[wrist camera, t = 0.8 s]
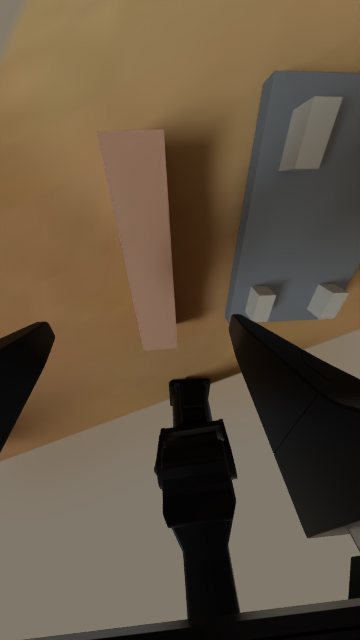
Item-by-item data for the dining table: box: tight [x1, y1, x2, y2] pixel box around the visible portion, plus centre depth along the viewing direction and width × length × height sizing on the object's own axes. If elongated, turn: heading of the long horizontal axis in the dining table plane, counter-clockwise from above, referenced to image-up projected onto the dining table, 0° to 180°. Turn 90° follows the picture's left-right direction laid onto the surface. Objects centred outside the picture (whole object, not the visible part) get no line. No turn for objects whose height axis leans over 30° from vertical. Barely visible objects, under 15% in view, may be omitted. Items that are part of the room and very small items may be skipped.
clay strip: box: [97, 129, 178, 351], centre depth 16 cm, size 16×4×4 cm, turn 2°
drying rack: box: [225, 71, 360, 323], centre depth 16 cm, size 18×12×4 cm, turn 0°
